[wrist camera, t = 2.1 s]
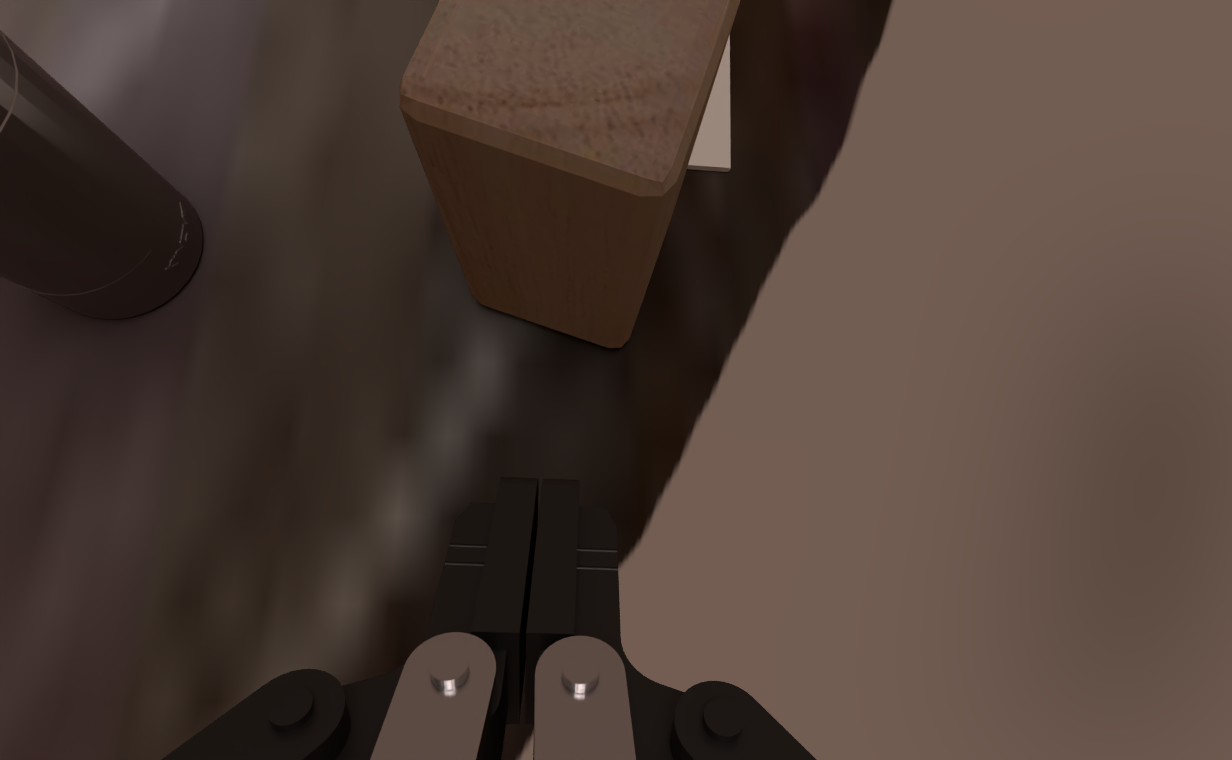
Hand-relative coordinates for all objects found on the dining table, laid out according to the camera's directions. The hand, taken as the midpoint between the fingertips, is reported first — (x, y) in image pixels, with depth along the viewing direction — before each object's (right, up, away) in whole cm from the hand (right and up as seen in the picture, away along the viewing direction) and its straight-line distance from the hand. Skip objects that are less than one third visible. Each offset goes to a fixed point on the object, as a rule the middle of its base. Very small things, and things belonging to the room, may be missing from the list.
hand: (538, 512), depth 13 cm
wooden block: (-1, +10, +29) cm, 31 cm away
